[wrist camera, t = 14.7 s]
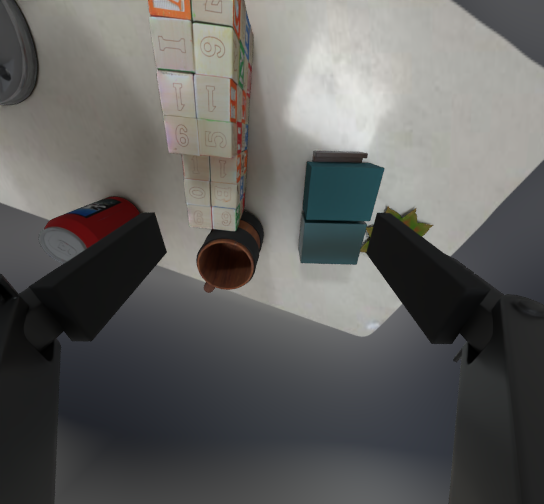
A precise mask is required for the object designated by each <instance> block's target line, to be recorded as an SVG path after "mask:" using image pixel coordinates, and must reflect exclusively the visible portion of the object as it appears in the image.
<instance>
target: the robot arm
mask: <svg viewBox="0 0 544 504" xmlns="http://www.w3.org/2000/svg"><path fill="white" fill-rule="evenodd" d="M36 77H37V59H36V53H35V48H34V44H33V41H32V37H31V34H30V32H29V29H28V27H27V24H26V22H25V20H24V18H23V16H22V14H21V12H20V10H19V8H18V6H17V4H16V3H15V1H14V0H0V105H13V104H17V103H20V102H21V101H23V100H25V99H26V98H27V97H28V96H29V95H30V93H31V92H32V90H33V88H34V86H35V82H36ZM166 253H167V251H166V248H165V245H164V241H163V238H162V235H161V232H160V228H159V225H158V222H157V219H156V216H155V213H140V214H139V215H137V216H136V217H134V218H133V219H131V220H130V221H128V222H127V223H125V224H124V225H122V226H120V227H119V228H117V229H116V230H114V231H113V232H111V233H110V234H108V235H107V236H105V237H104V238H102V239H101V240H99V241H98V242H96V243H95V244H93V245H92V246H90V247H88V248H87V249H85V250H84V251H82V252H81V253H79V254H78V255H76V256H75V257H73V258H72V259H70V260H69V261H67V262H66V263H64V264H63V265H61V266H60V267H58V268H56V269H55V270H53V271H52V272H50V273H49V274H47V275H46V276H44V277H43V278H41V279H40V280H38V281H37V282H35V283H34V284H32V285H31V286H29V288H27V289H26V290H24V291H23V292H21V293H19V294H18V293H17V292H16V290H15V289H14V288H13V287H12V286H11V284H10V283H9V282H8V281H7V280H6V279H5V277H4V276H3V275H2V274H0V504H54V497H55V474H56V449H57V425H58V399H59V375H60V352H61V351H60V350H61V345H60V343H59V341H58V340H57V339H56V338H57V337H58V336H59V335H60V334H61V333H62V332H63V331H64V332H65V333H66V334H67V335H68V337H69V338H70V339H71V341H92V340H93V339H94V338H95V337H96V335H97V334H98V333H99V332H100V331H101V330H102V328H103V327H104V326H105V325H106V324H107V322H108V321H109V320H110V319H111V318H112V316H113V315H114V314H115V313H116V312H117V311H118V309H119V308H120V307H121V306H122V304H124V302H125V301H126V300H127V299H128V298H129V296H130V295H131V294H132V293H133V292H134V290H135V289H136V288H137V287H138V286H139V284H140V283H141V282H142V281H143V280H144V279H145V277H146V276H147V275H148V274H149V273H150V272H151V270H152V269H153V268H154V267H155V266H156V265H157V263H158V262H159V261H160V260H161V259H162V257H163V256H164V255H165V254H166ZM366 253H367V255H368V256H369V258H370V259H371V260H372V262H373V263H374V265H375V266H376V267H377V269H378V270H379V271H380V273H381V274H382V276H383V277H384V278H385V280H386V281H387V283H388V284H389V285H390V287H391V288H392V290H393V291H394V292H395V294H396V295H397V296H398V298H399V299H400V301H401V302H402V303H403V305H404V306H405V308H406V309H407V310H408V312H409V313H410V314H411V316H412V317H413V319H414V320H415V321H416V323H417V324H418V326H419V327H420V328H421V330H422V331H423V332H424V334H425V335H426V336H427V338H428V339H429V341H430V342H431V343H432V344H452V343H453V341H454V340H455V339H456V337H457V336H458V334H459V333H460V334H461V335H462V336H463V337H464V338H465V339H466V341H467V342H466V343H465V345H464V346H463V347H462V348H461V350H460V351H459V352H458V354H457V355H456V356H455V358H454V359H453V361H455V362H457V361H458V360H459V359H461V369H460V381H459V392H458V404H457V415H456V426H455V438H454V449H453V461H452V471H451V484H450V495H449V504H544V305H543V304H540V303H538V302H537V301H534V300H531V299H529V298H526V297H522V296H518V295H509V294H507V295H504V294H502V293H501V292H499V291H498V290H497V289H495V288H494V287H493V286H491V285H490V284H488V283H487V282H486V281H484V280H483V279H482V278H480V277H479V276H478V275H476V274H474V272H472V271H471V270H470V269H468V268H466V267H465V266H464V265H463V264H462V263H460V262H459V261H457V260H456V259H454V258H452V257H450V256H448V255H446V254H444V253H443V252H441V251H440V250H439V249H437V248H436V247H435V246H433V245H432V244H431V243H429V242H428V241H427V240H425V239H424V238H423V237H421V236H420V235H419V234H417V233H416V232H415V231H413V230H412V229H411V228H409V227H408V226H407V225H406V224H404V223H403V222H402V221H400V220H399V219H398V218H396V217H395V216H394V215H392V214H391V213H377V215H376V219H375V223H374V226H373V230H372V234H371V237H370V241H369V244H368V248H367V252H366Z"/></svg>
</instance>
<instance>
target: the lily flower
mask: <svg viewBox="0 0 544 504" xmlns="http://www.w3.org/2000/svg"><path fill="white" fill-rule="evenodd" d="M415 212H416V208H415V209H414V210H413V211H411V212H410V213H409V214H407V215H406V216H405V217H403V218H402V217H401V216H400V215H399V214H398V213H397V212H395V211H394V210H391V209H390V208H389V207H388V208H387V210H386V212H385V213H391V214H392V215H394V216H395V217H396V218H398V219H399V220H400V221H402V222H403V223H404V224H406V225H407V226H408V227H409V228H411V229H412V230H413V231H415V232H416V233H417V234H419V235H420V236H421V237H422V236H424V235H425V234H426V232H427V231H428V230H429V228H431V227H432V226H433V225H429V224H427V225H426V224H424V223H417V215H416V213H415ZM366 230H367V232H368V233H369V236H370V237H371V234H372V230H373V227H370V228H368V227H366ZM369 241H370V240H369ZM369 241H368V242H367V243H366V244H364V245H363V246H362V248H361V249H360V252H365V253H366V252H367V248H368V244H369Z"/></svg>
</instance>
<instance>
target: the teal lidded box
mask: <svg viewBox="0 0 544 504" xmlns="http://www.w3.org/2000/svg"><path fill="white" fill-rule="evenodd" d="M367 155H368V153H364V152H342V151H314V152H313V161H312V162H354V163H362V159H363V158H367ZM366 227H367V224H366V223H365V222H364V221H345V220H306V217H305V214H304V212H302V216H301V227H300V238H299V249H298V250H299V255H300V261H301V263H318V264H353V265H356V264H357V261H358V257H359V253H360V249H361V246H362V242H363V238H364V234H365V231H366Z"/></svg>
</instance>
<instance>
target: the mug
mask: <svg viewBox="0 0 544 504" xmlns="http://www.w3.org/2000/svg"><path fill="white" fill-rule="evenodd" d="M263 237H264V232H263V228H262V225H261V223H260V222H259V220H258V219H257V218H256V217H255V216H254V215H252V214H251V213H249V212H246V211H243V213H242V216H241V218H240V221H239V225H238V228H237V230H236V231H227V230H218V229H212V230H211V232H210V234H209V235H208V236H207V238H206V240H205V242H204V244H203V245H202V247H201V248H200V250H199V252H198V254H197V267H198V271H199V273H200V275H201V276H202V278H203V279H204V280H205V281H206V283H205V285H204V290H205V291H206V292H208V293H209V292H212V291H213V290H214V289H215V287H216V288H220V289H226V290H230V289H236V288H239V287H241V286H243V285H245V284H246V283H248V282H249V281H250V280H251V278H252V277H253V275H254V273H255V269H256V264H257V261H258V258H259V252H260V250H261V247H262V243H263Z"/></svg>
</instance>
